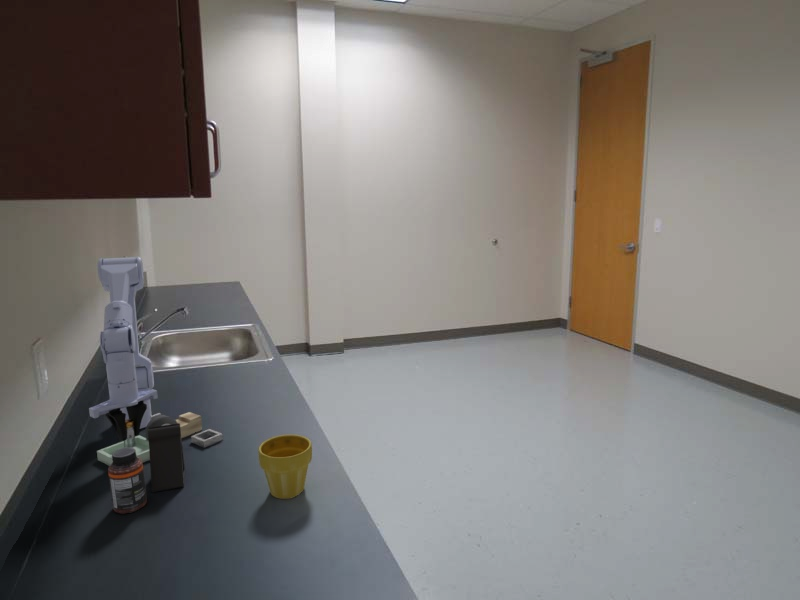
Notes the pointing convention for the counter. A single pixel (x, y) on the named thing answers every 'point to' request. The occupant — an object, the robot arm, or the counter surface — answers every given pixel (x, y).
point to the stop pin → (129, 434)
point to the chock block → (189, 423)
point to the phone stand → (166, 457)
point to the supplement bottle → (127, 481)
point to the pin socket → (199, 437)
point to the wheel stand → (159, 422)
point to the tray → (141, 447)
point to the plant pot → (285, 464)
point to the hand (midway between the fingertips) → (128, 437)
